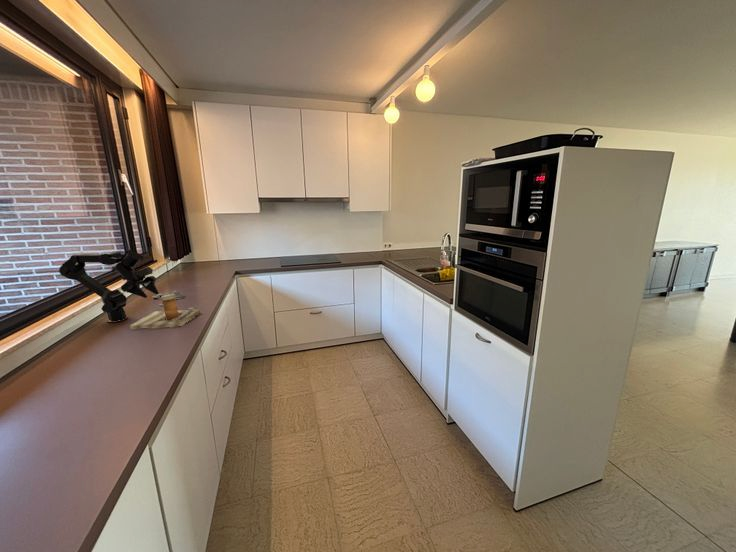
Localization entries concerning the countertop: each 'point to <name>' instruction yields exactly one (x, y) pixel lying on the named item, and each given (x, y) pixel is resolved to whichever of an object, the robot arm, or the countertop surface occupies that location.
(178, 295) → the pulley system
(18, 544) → the countertop surface
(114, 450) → the countertop surface
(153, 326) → the rectangular frame
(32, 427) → the countertop surface
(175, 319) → the cross bar
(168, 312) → the cord reel
